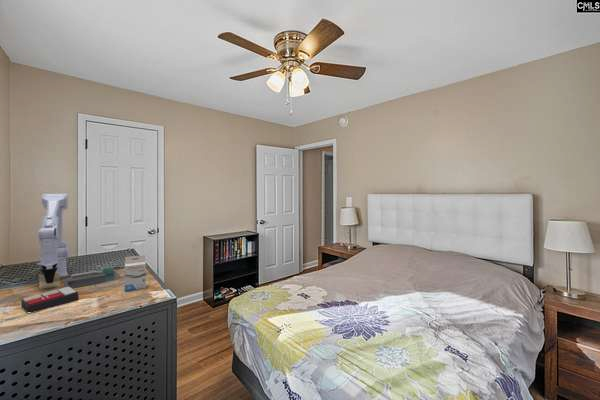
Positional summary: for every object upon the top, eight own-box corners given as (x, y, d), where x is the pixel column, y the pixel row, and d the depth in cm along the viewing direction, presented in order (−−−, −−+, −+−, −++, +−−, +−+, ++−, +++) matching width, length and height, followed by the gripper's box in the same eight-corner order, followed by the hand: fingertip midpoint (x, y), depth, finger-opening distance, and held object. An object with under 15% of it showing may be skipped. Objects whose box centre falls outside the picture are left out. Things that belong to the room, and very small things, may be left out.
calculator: (20, 297, 103) (69, 284, 115) (21, 308, 103) (70, 294, 116) (27, 304, 97) (78, 290, 109) (28, 316, 97) (79, 300, 109)
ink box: (124, 291, 118) (124, 259, 118) (124, 288, 123) (124, 257, 122) (146, 288, 123) (146, 256, 123) (145, 284, 127) (145, 254, 127)
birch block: (39, 287, 123) (39, 275, 123) (59, 284, 128) (59, 272, 128) (39, 290, 120) (39, 277, 120) (60, 286, 125) (59, 273, 125)
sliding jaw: (71, 279, 133) (71, 272, 133) (113, 272, 146) (113, 265, 145) (71, 280, 131) (71, 273, 131) (114, 273, 143) (114, 266, 143)
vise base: (63, 280, 134) (63, 272, 133) (115, 271, 149) (115, 264, 149) (65, 290, 120) (64, 282, 120) (122, 279, 135) (122, 272, 135)
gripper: (37, 251, 126) (38, 279, 127) (36, 256, 116) (37, 287, 116) (57, 249, 131) (58, 276, 132) (58, 254, 121) (58, 283, 121)
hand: (49, 281), depth 124 cm, fingers open, 7 cm apart
